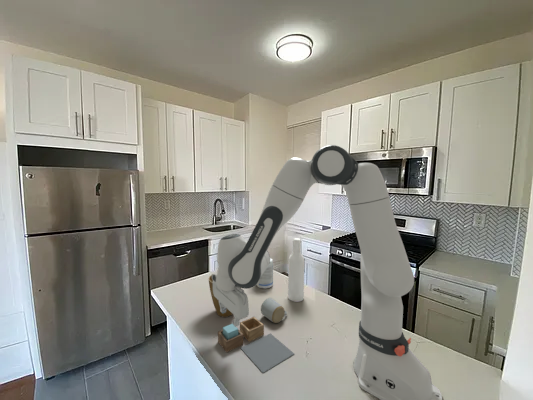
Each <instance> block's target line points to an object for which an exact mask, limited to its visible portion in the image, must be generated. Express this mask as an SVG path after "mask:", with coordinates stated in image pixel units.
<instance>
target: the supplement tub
mask: <svg viewBox="0 0 533 400" xmlns="http://www.w3.org/2000/svg"><path fill="white" fill-rule="evenodd" d="M273 260H274V259H273V258H271V257H270V263H269V265H268V267H267V268H266V270H265V271H264V273H263V274H262V276H261V277H260V279H259V281H258V283H257V284H256V285H255V286H257V288H259V289H269V288H272V287H273V285H274V262H273Z"/></svg>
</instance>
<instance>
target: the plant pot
mask: <svg viewBox="0 0 533 400" xmlns="http://www.w3.org/2000/svg"><path fill="white" fill-rule="evenodd" d="M208 284H209V292H210V297H211V300H212V304H213V306H214V309H215V312H216V314H217V315H218V316H219V317H223V318H227V317H230V316H232V315H233V314H232V313H231V312H230V311H229V310H228V309H227V308H226V313H221V312H220V305H219V300H218V299H217V298H216V297H215V296H214V294H213V280H212V274H211V275H210V276H208Z"/></svg>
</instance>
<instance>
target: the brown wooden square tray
mask: <svg viewBox="0 0 533 400" xmlns="http://www.w3.org/2000/svg"><path fill="white" fill-rule="evenodd" d="M217 343H218V344H219V345H220V346H221V348H222V349H223V350H224V351H225V353H228V352H231V351H233V350H236V349H237V348H239V347H242V346H244V336H243V333H242V332H241V331H240V328H238V336H236V337H233V338H231V339H229V340H227V339H226V338H225V337H224V336H223V329H221V330H219V331H217Z"/></svg>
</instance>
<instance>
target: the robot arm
mask: <svg viewBox="0 0 533 400" xmlns="http://www.w3.org/2000/svg"><path fill="white" fill-rule="evenodd" d="M315 184H321V185H325V186H335V185H339V186H342V188H343V189H344V191H345V193H346V197H347V202H348V206H349V210H350V214H351V218H352V223H353V227H354V231H355V235H356V237H357V241H358V245H359V250H360V289H361V290H360V291H361V292H360V293H361V306H360V309H361V310H360V320H359V323H358V324H359V325H358V338H359V341H358V347H357V351H356V355H355V359H354V361H353V365H352V366H353V370H354V373H355V374H356V376H357V379H358V381H357V382H358V383H357V384H358V387H359V388H360V389H362V390H364V392H367V393H369V394H370V395H372V396H373V397H375V398H377V399H379V400H443V394H442V391H441V390H440V389H439V388H438V387H437V386H436V385H435V384H434V383H433V380H432V375H431V373H430V371H429V369H428V368H427V367H426V366H425V365H424V364H423V362H421V360H420V359H419V358H418V357H417V356H416V355H415V353H414V352H413V351H412V350H411V349H410V348H409V346H410V344H411V343H412V338H411V337H409V338H408V339H407V338H406V337H405V334H404V332H403V318H404V315H403V314H404V305H403V300H402V297H403V296H405V295H407V294H409V292H410V291H411V290H412V289H413V286H414V285H415V276H414V272H413V270H412V267H411V264H410V261H409V258H408V255H407V252H406V249H405V245H404V243H403V242H404V241H403V240H402V237H401V234H400V232H399V229H398V226H397V223H396V219H395V216H394V212H393V207H392V202H391V199H390V198H391V197H390V195H389V191H388V187H387V184H386V181H385V178H384V176H383V174H382V172H381V170H380V167H378V165H377V164H374V163H371V162H358V161H357V160H356V159H355V158H354V157H353V156H352V155H351V154H350V153H349V151H347V150H346V149H345V148H343V147H341V146H338V145H336V144H330V145H324V146H322V147H320V148H319V149H318V150H317V151H316V152H315V153H314V154H313V156H312V158H311V160H306V159H303V158H301V157H292V158H289V159H288V160H286V162H285V163H284V164H283V166H282V167H281V169H280V170H279V172H278V173H277V175H276V177H275V179H274V181H273V182H272V185H271V187H270V190H269V192H268V194H267V197H266V199H265V202H264V205H263V208H262V209H261V210H262V211H261V212H260V213H261V214H260V216H259V219H258V221H257V222H256V225H255V227H254V228H253V230H252V232H251V234H250V236H249V238H248V239H246V238H244V237H243V236H242V235H241V234H239V233H238V234H236V233H235V234H234V233H233V234H228V235H225V236H223V237H221V238H220V239H219V241H218V246H217V256H216V257H217V260H216V261H217V266H218V267H217V272H214V273H211V275H212V280H213V294H214V296H215V297H216V298H217V299H218V300H219V305H220V312H221V313H226V308H227V309H228V310H229V311H230V312H231V313H232V315H233V317H234V319H232V324H233V325H234V326H235V327H238V326H239V327H240V321H241V320H243V319H246V318H248V317H249V315H250V307H249V297H248V294H247V293H246V292H245V290H246V289H247V290H248V289H252V288H255V286H257V285H256V284H257V283H258V281H259V279H260V277H261V276H262V274H263V273H264V271H265V270H266V268H267V267H268V265H269V263H270V258H271V256H270V253H269V251H268V249H269V248H270V246H271V244H272V242H273V240H274V238H275V236H276V235H277V234H278V232H279V231H280V230H281V229H282V228H283V227H284V225H286V224H287V223H288V222H289V221H290V220H291V219H292V218H293V217H294V215H296V213H297V211H298V210H299V208H300V207H301V205H302V203H303V202H304V200H305V198H306V196H307V194H308V192H309V190H310V189H311V187H312V186H313V185H315Z"/></svg>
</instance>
